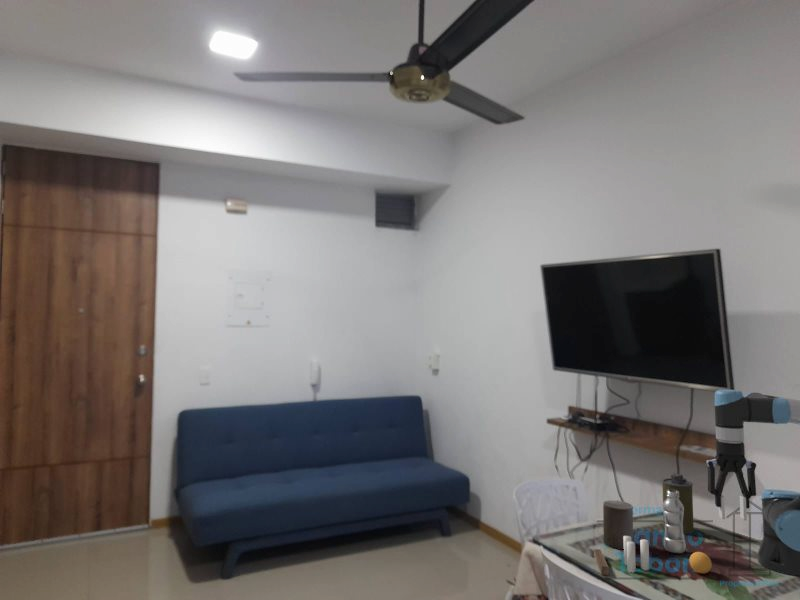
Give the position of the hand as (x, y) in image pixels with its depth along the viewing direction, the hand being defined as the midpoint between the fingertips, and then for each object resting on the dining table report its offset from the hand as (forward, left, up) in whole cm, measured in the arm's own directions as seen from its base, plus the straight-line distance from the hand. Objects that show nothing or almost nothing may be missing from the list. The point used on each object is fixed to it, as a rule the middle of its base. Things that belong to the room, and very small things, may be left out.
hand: (732, 518), depth 172 cm
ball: (+10, 0, -14) cm, 17 cm away
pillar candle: (+30, -20, -17) cm, 40 cm away
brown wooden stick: (+39, 0, -17) cm, 42 cm away
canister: (+5, -40, -17) cm, 44 cm away
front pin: (+26, 0, -17) cm, 31 cm away
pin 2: (+30, +2, -17) cm, 34 cm away
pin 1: (+30, -3, -17) cm, 34 cm away
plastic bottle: (+13, -16, -17) cm, 26 cm away
